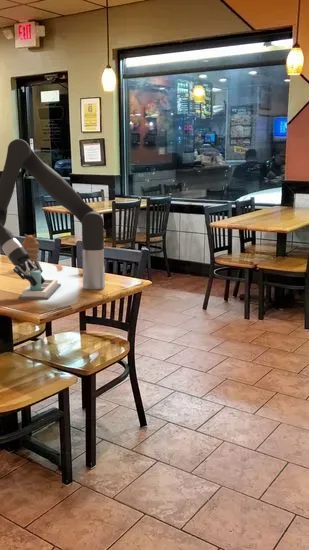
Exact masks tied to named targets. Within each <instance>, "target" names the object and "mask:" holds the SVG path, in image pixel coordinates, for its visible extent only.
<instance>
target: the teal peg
mask: <svg viewBox="0 0 309 550" xmlns="http://www.w3.org/2000/svg"><path fill="white" fill-rule="evenodd" d="M30 273H31V276H32V277H33V278H34V279H35V280H36V282H37V285H36V286H32V285H31V283H30V282H29V285H30V291H41V275H42V273H41V271H33V270H32V271H30Z"/></svg>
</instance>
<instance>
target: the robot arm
mask: <svg viewBox="0 0 309 550" xmlns="http://www.w3.org/2000/svg"><path fill="white" fill-rule="evenodd" d="M22 168H23V169H24V170H26V171H27V172H28V173H29V174H30V175H31V176H32V177H33V179H34V180H35V181H36V183H38V186H40V187H41V188H42V189H43V191H45V192H46V193H47V195H49V196H50V198H52V199H53V200H54V202H56V203H58V205H61V207H63V208H65V209H66V210H67V211H69V212H70V213H71V214H72V215H73V216H74V217H75V218H76V219H77V220H78V221H79V222H80V224H81V243H82V244H81V245H82V288H83V289H86V290H103V289H105V286H106V282H105V281H106V279H105V278H106V274H105V269H106V268H105V262H104V261H105V255H104V254H105V251H104V250H105V247H104V246H105V239H104V238H105V235H104V233H105V229H104V227H105V225H104V224H105V223H104V218H103V216H102V214H100V213H99V212H98V211H96V209H94V208H92V207H91V206H90V205H89V204H88V203H87V202H85V201H84V200H83V199H82V198H81V196H80V195H79V194H78V192H77V191H76V190H75V189H74V188H73V187H72V186H71V185H70V183H68V181H67V180H65V178H63V176H61V175H60V174H59V173H58V172H57V171H55V169H53V168H52V167H50V166H49V165H47V164H46V163H45V162H43V160H42V159H41V158H40V156H38V155H37V154H36V152H35V151H34V150H33V149H32V148H31V146H30V145H29V143H28V142H27V141H25V140H24V139H21V138H17V139H13V140H11V142H9V143H8V145H7V151H6V157H5V163H4V166H3V170H2V172H1V175H0V248H1V249H2V250H3V252H4V254H5V255H6V257H7V258H8V259H9V261H10V262H11V264H12V265H13V266H15V267H14V268H13V269H12V270H13V272H15V274H16V275H18V276H19V277H20V278H21V279H22V280H27V281H28V282H29V284H30V283H31V285H32V286H36V285H37V282H36V280H35V279H34V278H33V277H32V276H31V273H30V271H41V284H43V283H44V282H45V280H46V279H45V278H44V277H43V275H42V273H43V269H42V267H41V265H40V262H39V261H38V260H37V261H36V262H33V261H32V260H30V259H29V254H28V253H27V251H26V250H25V249H24V247H23V246H22V242H20V240H18V239H17V238H16V236H15V235H14V234H13V233H12V231H11V230H10V229H8V228H6V227H5V225H6V221H7V216H8V208H9V205H10V202H11V200H12V197H13V194H14V191H15V187H16V183H17V180H18V176H19V174H20V171H21V169H22Z"/></svg>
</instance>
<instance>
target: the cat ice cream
mask: <svg viewBox="0 0 309 550" xmlns="http://www.w3.org/2000/svg"><path fill="white" fill-rule="evenodd" d="M36 238H37V237H36V233H34V234H29V235H28V234H26V233H24V241H22V242H21V245H22V246H23V247H24V249H25V250H26V251H27V253H28V254H29V259H30V260H32V261H33V262H36V261H38V258H39V253H40V249H39V248H40V243H39V241H37V239H36Z"/></svg>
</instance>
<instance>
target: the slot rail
mask: <svg viewBox="0 0 309 550" xmlns="http://www.w3.org/2000/svg"><path fill="white" fill-rule="evenodd" d="M61 286H62V284H61V283H58V279H45V282H44V283H43V284H41V291H30V284H29V285H28V286H27V287H25V288H24V289H23V290H22V291H21V294H20V295H19V296H18V299H19V300H49V299H50V298H52V296H53V295H54V294H55V293H56V291H58V289H59V288H60V287H61Z"/></svg>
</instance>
